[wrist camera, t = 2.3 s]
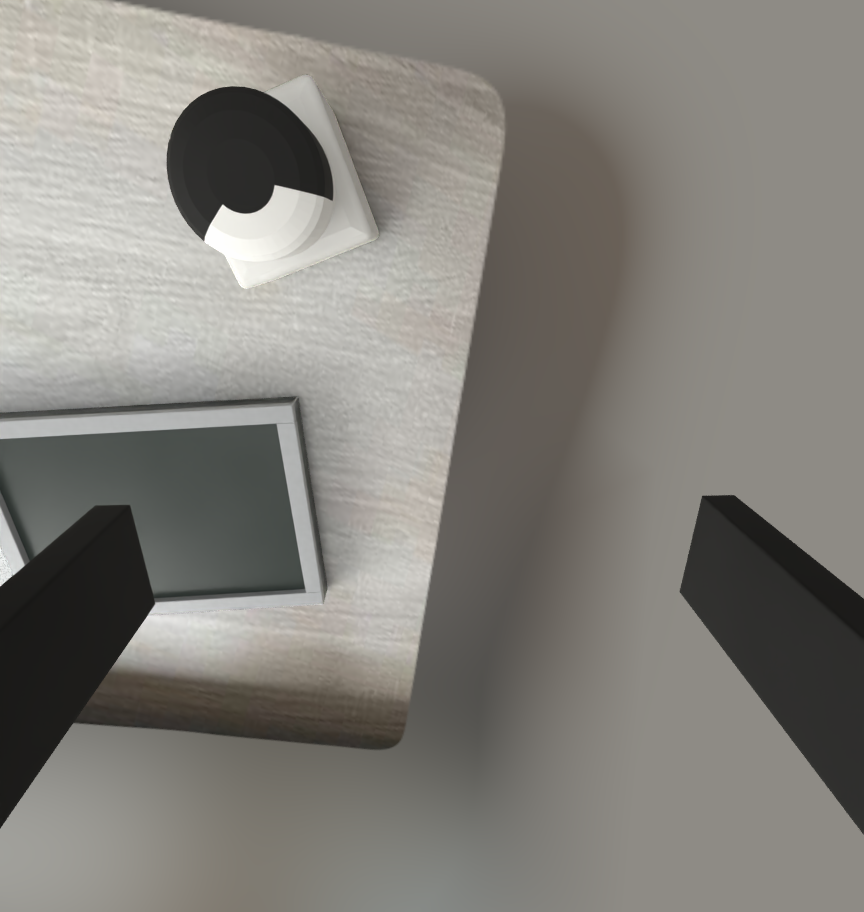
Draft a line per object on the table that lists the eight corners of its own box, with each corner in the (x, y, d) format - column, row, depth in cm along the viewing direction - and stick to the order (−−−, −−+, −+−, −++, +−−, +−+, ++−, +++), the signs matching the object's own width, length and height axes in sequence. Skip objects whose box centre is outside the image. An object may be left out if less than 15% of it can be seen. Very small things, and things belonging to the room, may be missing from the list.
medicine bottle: (217, 157, 29) (102, 109, 18) (332, 106, 29) (284, 26, 18) (275, 280, 32) (205, 303, 21) (381, 237, 31) (366, 238, 20)
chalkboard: (298, 396, 35) (291, 405, 33) (327, 588, 41) (323, 604, 40) (-30, 414, 35) (-55, 424, 33) (50, 605, 41) (33, 623, 39)
